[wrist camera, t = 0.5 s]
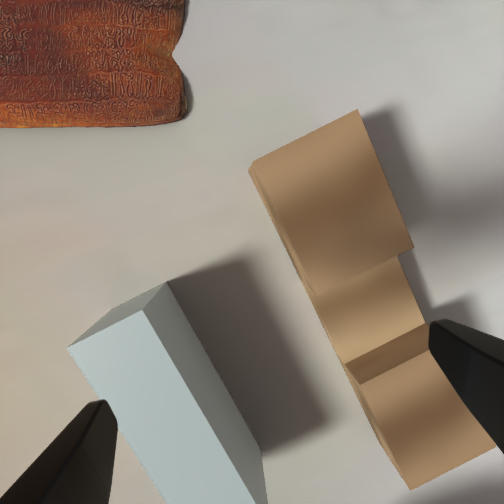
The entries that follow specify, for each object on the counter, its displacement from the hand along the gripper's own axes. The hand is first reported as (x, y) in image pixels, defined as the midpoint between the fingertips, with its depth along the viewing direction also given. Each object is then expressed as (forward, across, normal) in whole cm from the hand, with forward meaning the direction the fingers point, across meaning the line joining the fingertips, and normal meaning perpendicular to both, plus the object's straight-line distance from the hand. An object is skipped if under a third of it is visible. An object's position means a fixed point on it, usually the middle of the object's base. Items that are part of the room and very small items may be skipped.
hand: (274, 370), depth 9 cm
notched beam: (+11, -7, +6) cm, 15 cm away
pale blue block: (+11, +5, +10) cm, 15 cm away
